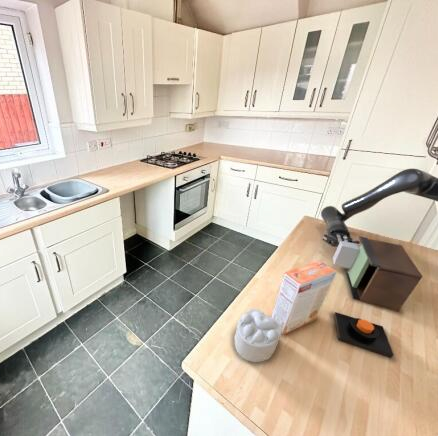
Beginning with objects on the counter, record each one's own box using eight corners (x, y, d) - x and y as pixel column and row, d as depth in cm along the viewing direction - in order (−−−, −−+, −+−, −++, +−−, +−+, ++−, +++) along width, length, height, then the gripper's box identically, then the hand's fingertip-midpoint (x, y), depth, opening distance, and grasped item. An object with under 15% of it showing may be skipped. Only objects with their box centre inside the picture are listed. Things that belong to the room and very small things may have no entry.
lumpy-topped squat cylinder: (280, 342, 72) (288, 322, 68) (260, 373, 64) (267, 353, 60) (247, 320, 79) (252, 301, 74) (225, 346, 71) (229, 326, 67)
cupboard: (381, 279, 94) (401, 244, 86) (397, 313, 80) (423, 275, 72) (343, 269, 99) (359, 236, 91) (352, 300, 85) (372, 263, 77)
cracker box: (299, 307, 83) (318, 258, 73) (315, 321, 78) (339, 271, 68) (267, 320, 78) (283, 270, 68) (282, 336, 73) (302, 285, 63)
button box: (379, 331, 74) (385, 322, 72) (390, 359, 67) (396, 350, 65) (332, 316, 79) (337, 307, 77) (337, 341, 72) (342, 332, 70)
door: (350, 268, 98) (364, 240, 91) (356, 288, 88) (372, 258, 82) (330, 263, 100) (342, 235, 94) (334, 282, 91) (348, 252, 84)
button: (369, 326, 72) (372, 322, 71) (373, 335, 69) (375, 331, 68) (354, 321, 73) (357, 317, 73) (357, 330, 71) (359, 326, 70)
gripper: (323, 220, 110) (327, 239, 97) (359, 227, 105) (369, 248, 91) (317, 234, 114) (321, 254, 100) (352, 241, 108) (361, 263, 95)
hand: (344, 251), depth 96 cm, fingers closed
